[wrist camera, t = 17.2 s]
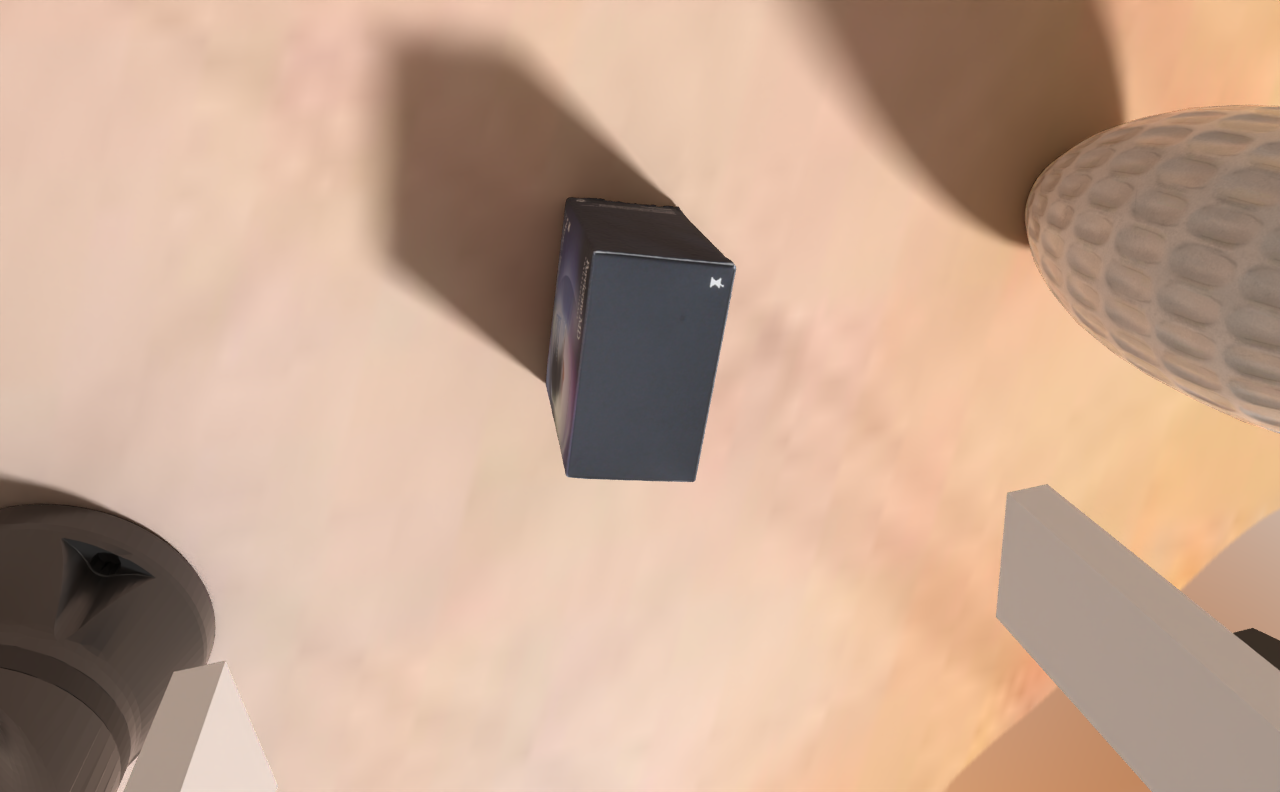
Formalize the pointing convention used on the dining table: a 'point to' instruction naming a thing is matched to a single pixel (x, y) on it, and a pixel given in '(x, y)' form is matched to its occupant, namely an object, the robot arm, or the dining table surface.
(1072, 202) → the vase
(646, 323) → the small box
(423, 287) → the dining table surface
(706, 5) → the dining table surface
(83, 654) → the robot arm
